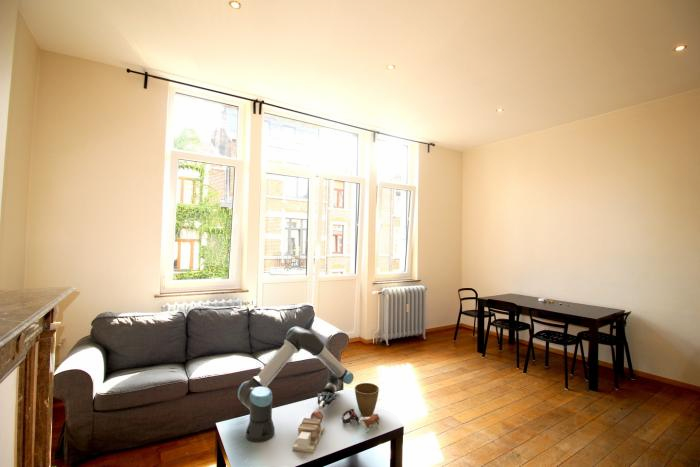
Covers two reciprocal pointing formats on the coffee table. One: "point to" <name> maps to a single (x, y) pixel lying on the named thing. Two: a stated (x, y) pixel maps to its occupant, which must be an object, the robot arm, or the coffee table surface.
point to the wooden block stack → (316, 416)
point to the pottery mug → (352, 417)
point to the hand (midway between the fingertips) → (320, 408)
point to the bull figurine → (369, 421)
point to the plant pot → (366, 398)
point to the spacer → (304, 440)
